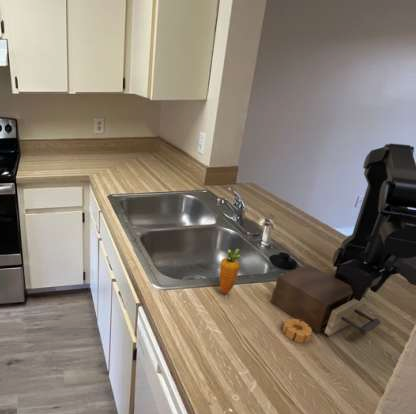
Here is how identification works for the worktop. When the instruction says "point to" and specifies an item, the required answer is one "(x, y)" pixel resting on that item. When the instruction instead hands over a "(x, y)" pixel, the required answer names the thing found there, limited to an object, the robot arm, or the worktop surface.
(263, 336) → the worktop surface
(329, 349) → the worktop surface
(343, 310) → the drawer
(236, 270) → the carrot
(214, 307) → the worktop surface
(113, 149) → the worktop surface
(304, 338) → the wooden gear wheel
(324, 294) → the cabinet
